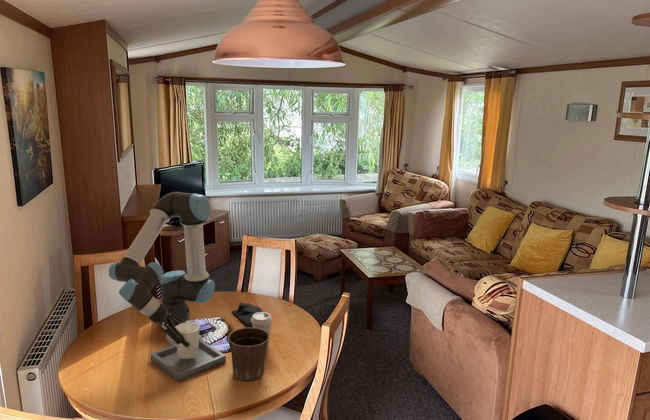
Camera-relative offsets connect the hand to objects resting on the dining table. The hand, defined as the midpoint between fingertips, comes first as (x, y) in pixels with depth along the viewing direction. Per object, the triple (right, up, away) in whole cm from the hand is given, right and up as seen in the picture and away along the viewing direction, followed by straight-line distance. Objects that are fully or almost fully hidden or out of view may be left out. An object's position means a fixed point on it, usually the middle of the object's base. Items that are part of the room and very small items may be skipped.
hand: (195, 343), depth 199 cm
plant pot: (+23, -10, -6) cm, 26 cm away
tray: (-3, -8, +1) cm, 8 cm away
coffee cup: (+25, -6, +15) cm, 30 cm away
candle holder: (-3, -4, 0) cm, 6 cm away
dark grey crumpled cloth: (+16, +1, +45) cm, 47 cm away
